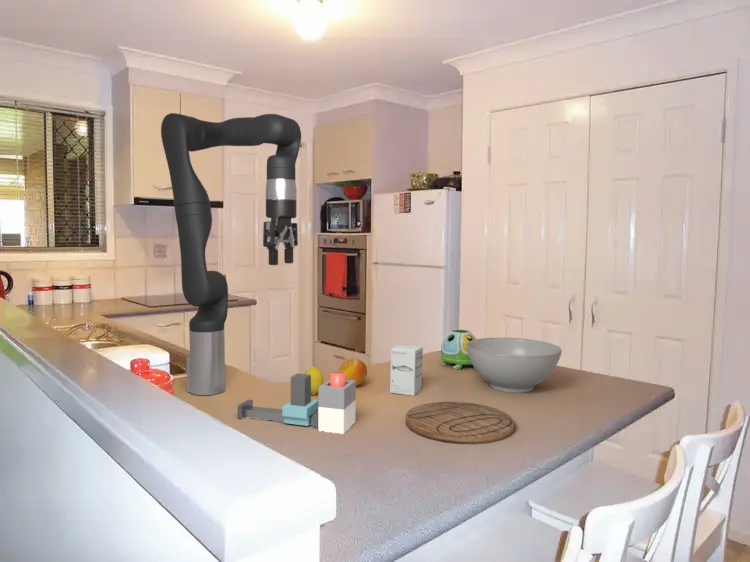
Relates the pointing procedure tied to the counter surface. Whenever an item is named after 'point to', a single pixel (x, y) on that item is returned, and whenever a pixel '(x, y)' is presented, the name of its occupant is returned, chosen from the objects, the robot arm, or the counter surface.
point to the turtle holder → (456, 348)
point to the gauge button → (337, 379)
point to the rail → (268, 413)
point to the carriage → (300, 401)
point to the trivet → (460, 422)
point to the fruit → (354, 370)
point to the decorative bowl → (513, 362)
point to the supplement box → (406, 369)
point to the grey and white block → (337, 407)
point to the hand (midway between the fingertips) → (281, 264)
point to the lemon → (315, 379)
